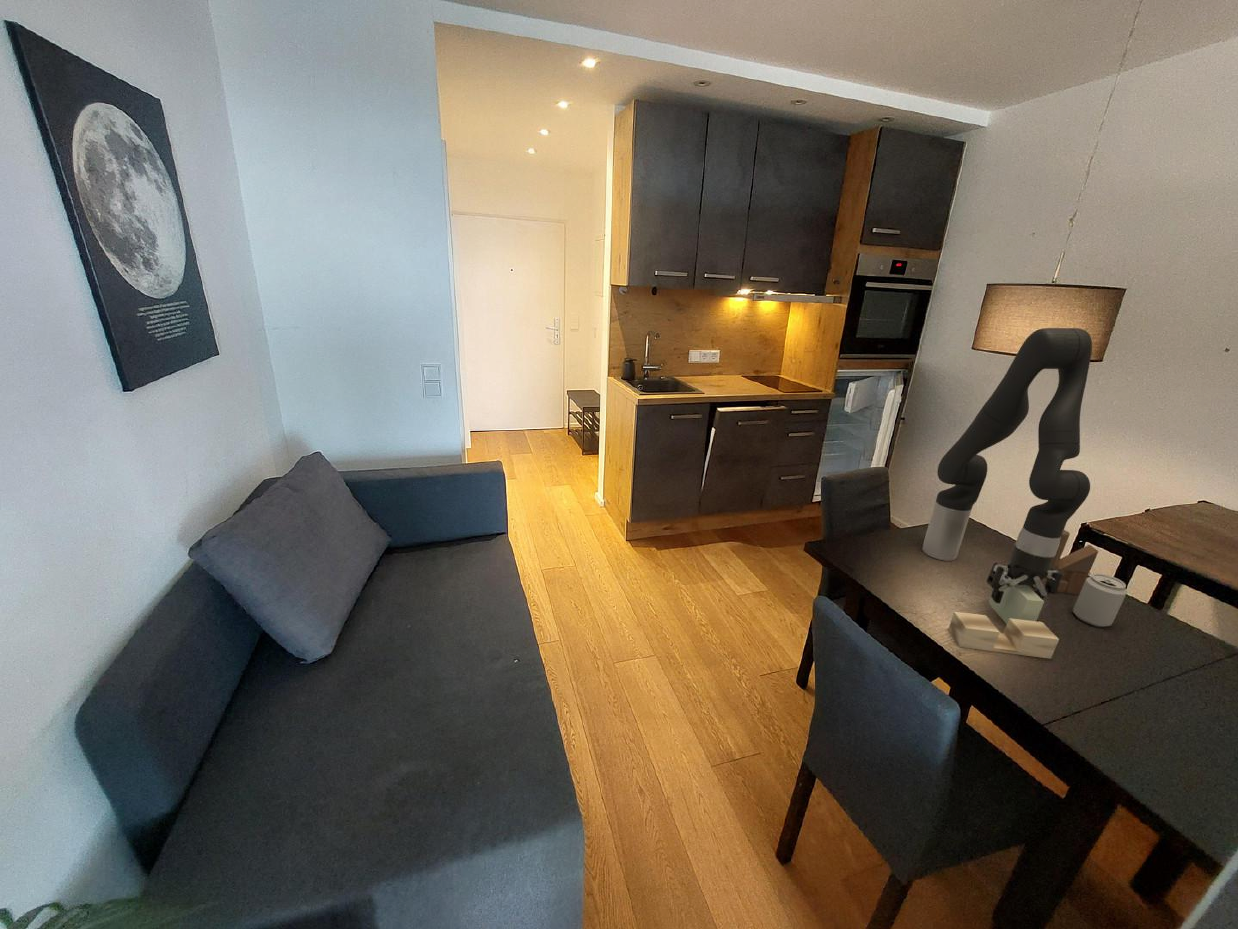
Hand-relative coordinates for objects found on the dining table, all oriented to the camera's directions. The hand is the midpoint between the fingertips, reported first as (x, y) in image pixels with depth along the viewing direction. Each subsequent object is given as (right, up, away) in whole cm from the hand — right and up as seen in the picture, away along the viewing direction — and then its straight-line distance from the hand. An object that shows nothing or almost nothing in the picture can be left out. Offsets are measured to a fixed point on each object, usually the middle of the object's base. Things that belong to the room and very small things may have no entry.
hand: (1014, 603), depth 121 cm
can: (+21, -5, +2) cm, 22 cm away
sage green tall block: (0, -4, +2) cm, 5 cm away
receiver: (-10, -8, -7) cm, 14 cm away
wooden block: (+23, 0, +14) cm, 27 cm away
